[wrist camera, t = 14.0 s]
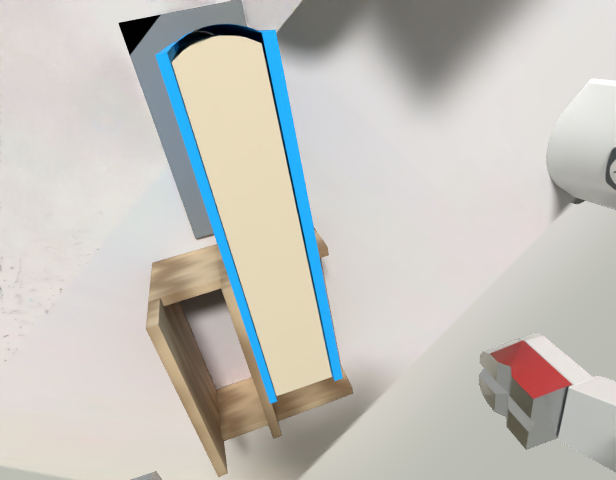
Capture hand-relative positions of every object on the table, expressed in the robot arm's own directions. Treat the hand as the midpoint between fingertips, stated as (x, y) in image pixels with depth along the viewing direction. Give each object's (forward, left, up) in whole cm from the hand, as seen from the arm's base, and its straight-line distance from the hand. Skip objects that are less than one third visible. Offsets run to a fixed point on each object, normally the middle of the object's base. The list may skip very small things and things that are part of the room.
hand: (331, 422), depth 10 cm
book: (0, 0, -33) cm, 33 cm away
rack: (+2, +22, -34) cm, 40 cm away
